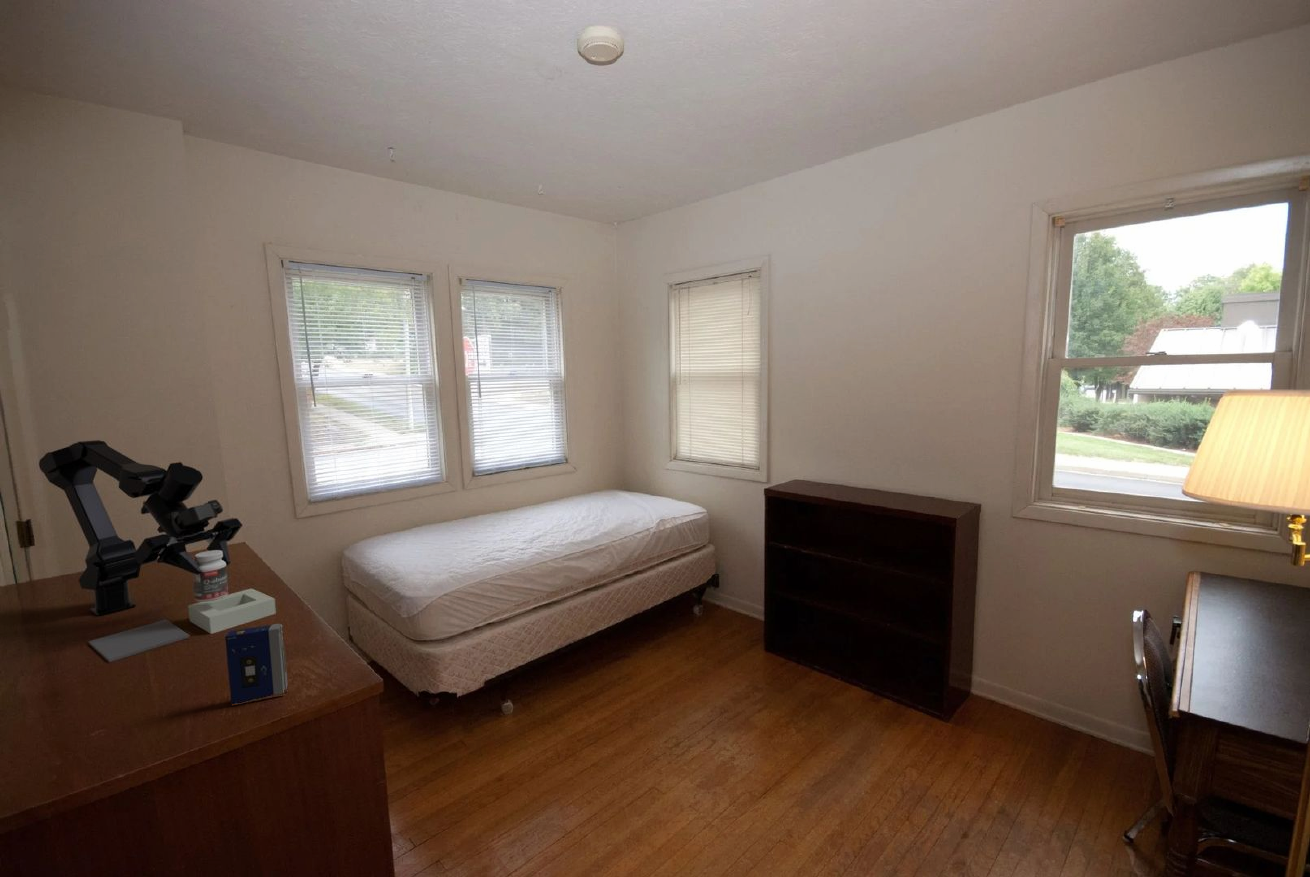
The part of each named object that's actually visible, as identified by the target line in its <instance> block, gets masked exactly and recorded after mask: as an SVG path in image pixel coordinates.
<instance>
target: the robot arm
mask: <svg viewBox="0 0 1310 877" xmlns="http://www.w3.org/2000/svg"><path fill="white" fill-rule="evenodd" d="M38 465H39V469H40V472H42V473H43V474H44V476H45V477H46V479H47V481H48V482H49V483H51V484H52V485H54V486H56V487H57V488H59V489H60V490H63V491H64V493H65V495H66V497H67V500H68V502H69V504H70V507H71V508H72V511H73V512H74V515H75V517H76V519H77V522H78V524H79V526H80V528H81V530H82V533H83V534H84V537H85V539H86V542H87V544H88V546H89V547H88V548H89V549H88V550H87V553H86V554H87V555H86V558H85V565H86V568H85V570H84V571H83V573H82V574H81V575H80V577H79V579H78V582H79V584H80V585H79V586H80V588H81V589H84V590H92V591H93V595H94V596H93V597H94V604H95V605H94V606H93V607H90V611H91V612H93V613H94V614H95V615H97V616H98V617H99V616H104V615H107V614H111V613H114V612H119V611H123V610H126V609H131V608H133V607H136V606H137V604H136V603H135V602H134V601H132V600H131V598H130V589H129V588H130V587H129V581H130V580H133V579H138V578H140V577H139V576H140V573H141V566H143V565H146V564H149V563H153V562H157V563H158V564H162V563H164V564H167V565H169V566H172V567H175V568H179V569H182V570H184V571H185V572H188V573H192V574H193V573H194V574H196V575H199V574H200V573H201V570H200V568H199V566H198V565H197V562H196V561H195V559H194V558H193V557H192V556H191V555H190V553H189V552H188V550H187V548H186V546H187V545H190V544H191V545H192V544H195V543H198V542H202V541H206V542H207V543H208V546H207V547H206V550H207V551H212V550H221V551H222V552H223V557H222V558H221V559H222V560H223V561H225V562H226V567H227V566H229V565H230V564H231V559H230V554H229V549H228V543H227V542H229V541H231V540H233V538H235V536H236V535H237V533H238V532H239V531H240V530H241V528H242V527H243V523H242V522H241V521H240V520H239V519H238V518H235V517H230V518H227V519H223V520H218V521H216V523H215V525H214V527H213V528H210V529H207V530H205V528H207V527H208V526H209V525H210V522H209V521H211V520H212V519H216V518H218V515H220V514H221V513H223V510H224V508H223V506H222V504H221V503H220V502H219V501H218V500H217V499H213V500H208V501H207V502H205V503H203V504H200V505H195V506H192V507H188V506H187V505H186V504H185V503H184V501H187V500H188V499H190V498H191V496H192V495H193V494H194V492H195V490H196V489H198V487H199V485H200V483H201V482H202V481H203V479H204V478H203V474H202V472H201V471H200V470H197V469H195V468H194V467H192V466H189V465H184V464H183V463H182V461H180V462H179V461H178V462H172V463H169V465H168V466H167V469H165V468H162V467H159V466H156V465H152V464H143V463H139V462H137V461H136V460H133V458H132V459H131V458H130V457H129V456H126V455H124V454H123V453H121V452H119V451H118V450H116V449H114V448H112V447H111V446H109V445H108V444H107V442H106V441H104V440H100V439H97V440H96V439H95V440H84V441H77V442H75V443H72V444H71V445H68V446H66V447H64V448H63V447H62V448H60V449H57V450H53V451H50V452H46V453H44V455H43V456H42V457H41V458H40V459H39V461H38ZM98 470H100V471H101V472H103V473H105V474H106V475H108V476H110V477H112V478H113V479H115V480H116V481H117V482H118V488H119V490H120V491H122V492H123V493H124V494H126V496H128V497H130V498H132V499H138V498H143V497H147V499H146V500H144V501H143V502H142V507H141V509H140V514H141V515H145V514H147V515H148V514H150V515H151V516H152V518H153V520H155V521H156V523H157V524H158V528H157V532H158V533H159V534H160V535H159V534H158V535H155V536H150V537H146V538H144V539H143V541H142V542H141V544H140V545H139V547H138V548H137V547H136V546H135V543H134V541H132V540H131V539H127V540H125V539H122V537H119V536H118V534H117V531H116V529H115V527H114V525H113V523H112V521H111V518H110V516H109V514H108V511H107V510H106V507H105V505H104V503H103V501H102V499H101V496H100V495H99V493H98V490H97V488H96V486H95V484H94V479H95V477H96V474H97V472H98ZM162 533H163V534H162ZM164 533H165V534H164Z"/></svg>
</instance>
